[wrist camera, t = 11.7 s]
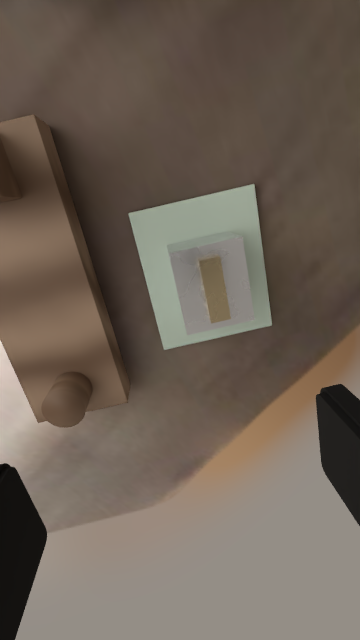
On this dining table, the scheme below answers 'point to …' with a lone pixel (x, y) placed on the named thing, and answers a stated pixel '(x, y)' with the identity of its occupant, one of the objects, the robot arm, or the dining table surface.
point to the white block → (212, 281)
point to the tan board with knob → (51, 286)
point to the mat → (189, 223)
